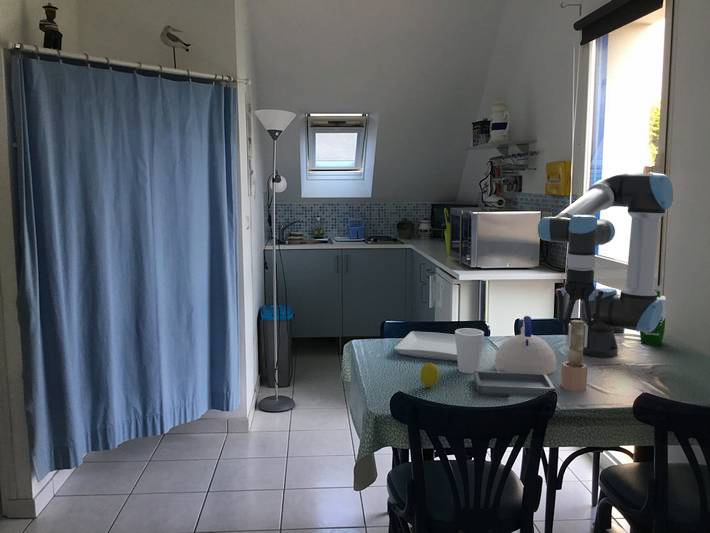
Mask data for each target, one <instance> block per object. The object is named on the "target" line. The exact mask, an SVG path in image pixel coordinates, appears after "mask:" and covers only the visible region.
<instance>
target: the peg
mask: <svg viewBox="0 0 710 533" xmlns="http://www.w3.org/2000/svg"><path fill="white" fill-rule="evenodd" d="M570 324H571V325H572V331H571V347H568V360H567V361H568V366H572V367H582V363H583V359H584V355H583V345H584V328H585V322H584V321H581V320H579V319H573V320H571V319H570Z"/></svg>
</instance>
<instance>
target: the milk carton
mask: <svg viewBox="0 0 710 533" xmlns="http://www.w3.org/2000/svg"><path fill="white" fill-rule="evenodd" d="M654 291H655V292H656V293H657V299H659V300H660V301H662V306H663V310H662V315H661V318H660V321H659V323H658V325H657V326H656V328H655V329H654V330H653V331H651V332H641V331H639V334H640V335H639V336H640V344H641V345H643V344H644V345H653V346H662V345H663V344H662V342H663V338H664V335H665V328H666V316H667V299H666V296H665V295H661V291H660V290H658V289H654Z"/></svg>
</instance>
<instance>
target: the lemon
mask: <svg viewBox="0 0 710 533" xmlns="http://www.w3.org/2000/svg"><path fill="white" fill-rule="evenodd" d="M439 378H440V372H439V368H438V367H437V366H436V364H434V363H432V362H431V361H429V362H428V363H425V364H424V365H423V366H422V367H421V370H420V380H421V382H422V384H423V385H424V386H426V387H427V388H429V389H431V387H433V386H435V385H437V384H438V382H439Z"/></svg>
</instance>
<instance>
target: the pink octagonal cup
mask: <svg viewBox="0 0 710 533" xmlns="http://www.w3.org/2000/svg"><path fill="white" fill-rule="evenodd" d="M588 367H589V366H588V365H587V364H586V363H582V367H572V366H568V360H566V361H564V362H561V370H560V371H561V372H560V386H561V388H562V389H564V390H567V391H571V392H583V391H585V390H587V386H588V385H587V382H588Z"/></svg>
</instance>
